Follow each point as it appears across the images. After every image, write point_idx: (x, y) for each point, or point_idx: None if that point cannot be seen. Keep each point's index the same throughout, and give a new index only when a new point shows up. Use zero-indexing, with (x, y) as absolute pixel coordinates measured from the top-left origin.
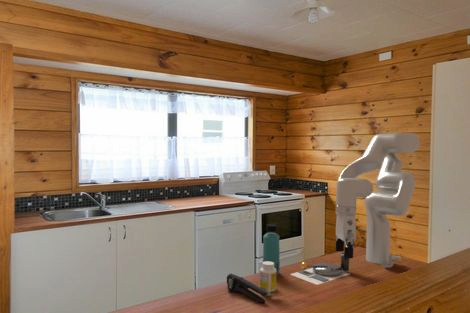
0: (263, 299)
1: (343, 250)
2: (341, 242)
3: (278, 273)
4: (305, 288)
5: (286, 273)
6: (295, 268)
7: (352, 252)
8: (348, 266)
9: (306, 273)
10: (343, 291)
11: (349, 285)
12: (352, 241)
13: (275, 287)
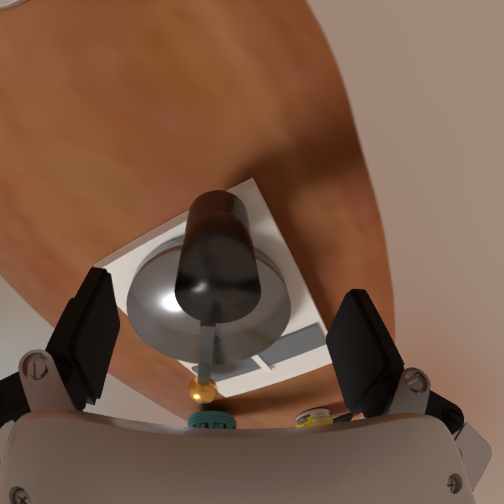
0: (350, 419)
1: (106, 275)
2: (84, 364)
3: (226, 415)
4: (317, 368)
5: (178, 384)
6: (119, 354)
7: (380, 329)
8: (247, 219)
9: (231, 370)
10: (387, 284)
11: (351, 237)
12: (463, 437)
13: (330, 421)
